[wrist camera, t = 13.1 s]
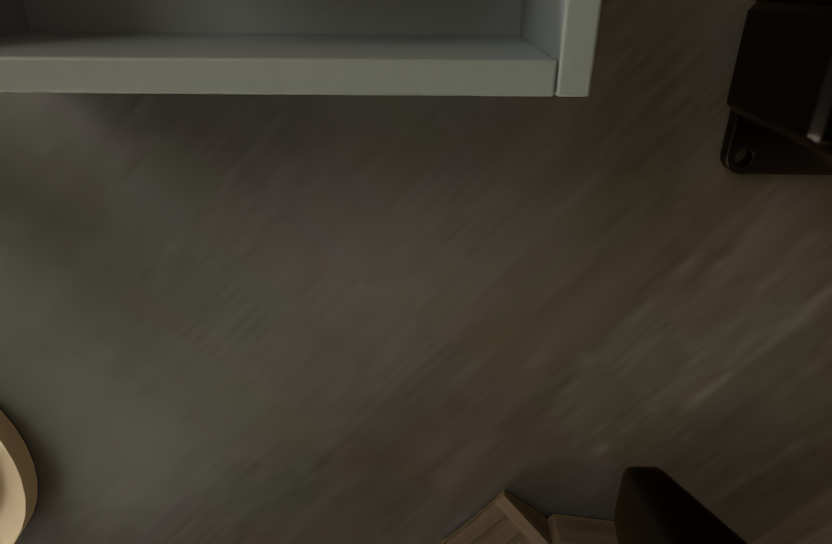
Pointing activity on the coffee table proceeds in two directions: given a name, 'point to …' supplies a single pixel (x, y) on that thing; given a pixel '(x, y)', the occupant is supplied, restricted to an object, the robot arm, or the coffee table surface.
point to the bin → (300, 47)
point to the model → (529, 526)
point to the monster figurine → (15, 483)
